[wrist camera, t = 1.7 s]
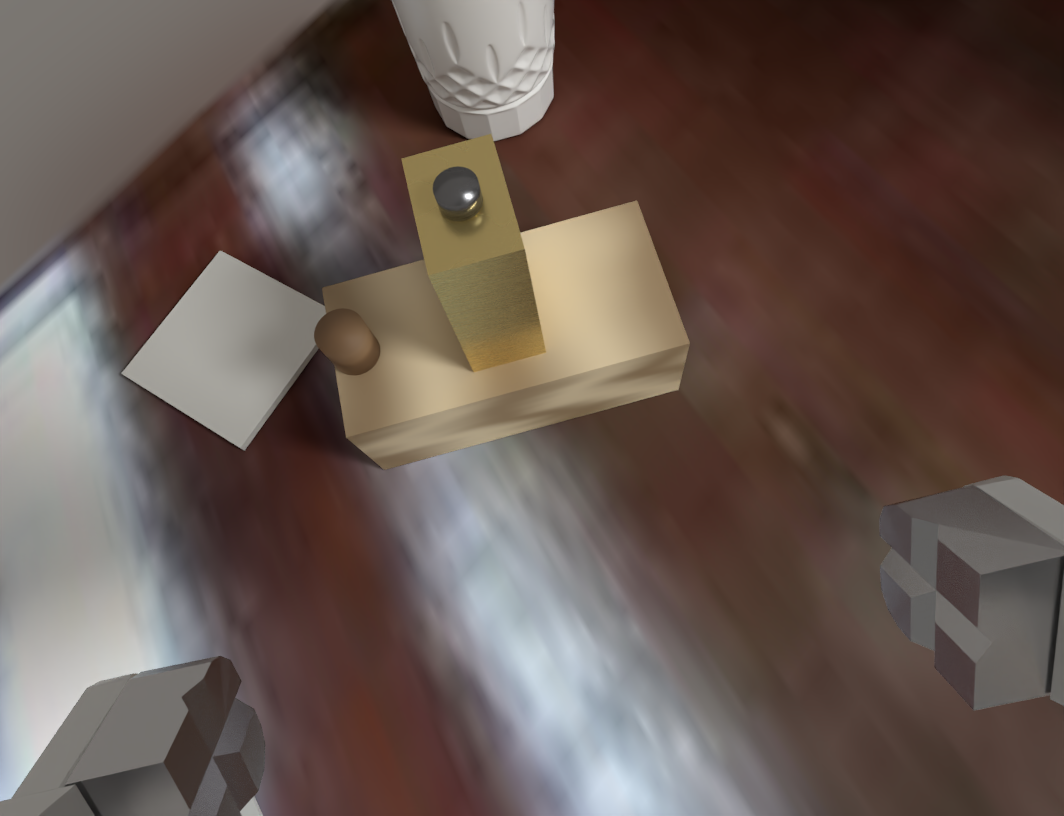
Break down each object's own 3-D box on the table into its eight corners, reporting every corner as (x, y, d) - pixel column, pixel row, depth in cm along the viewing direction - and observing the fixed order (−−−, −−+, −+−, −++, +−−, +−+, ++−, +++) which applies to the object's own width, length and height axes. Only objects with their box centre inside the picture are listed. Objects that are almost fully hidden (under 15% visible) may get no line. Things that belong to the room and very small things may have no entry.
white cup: (593, 76, 39) (588, -109, 29) (505, 175, 37) (470, 12, 28) (485, 21, 41) (447, -168, 32) (397, 111, 39) (331, -60, 30)
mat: (224, 254, 37) (220, 250, 37) (341, 317, 35) (338, 313, 35) (126, 376, 35) (121, 373, 35) (244, 450, 33) (240, 448, 33)
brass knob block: (519, 259, 29) (487, 115, 22) (546, 352, 28) (521, 233, 20) (450, 278, 30) (394, 141, 22) (473, 372, 28) (421, 261, 20)
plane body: (633, 262, 35) (638, 169, 28) (678, 389, 32) (695, 319, 26) (360, 338, 35) (302, 262, 28) (384, 470, 32) (326, 421, 26)
